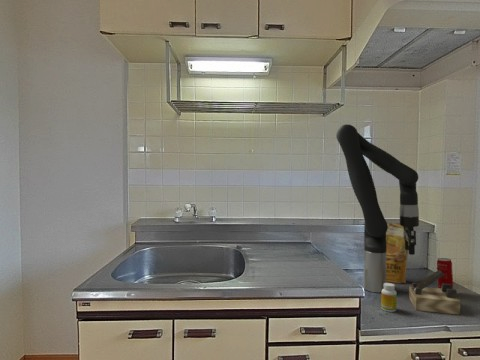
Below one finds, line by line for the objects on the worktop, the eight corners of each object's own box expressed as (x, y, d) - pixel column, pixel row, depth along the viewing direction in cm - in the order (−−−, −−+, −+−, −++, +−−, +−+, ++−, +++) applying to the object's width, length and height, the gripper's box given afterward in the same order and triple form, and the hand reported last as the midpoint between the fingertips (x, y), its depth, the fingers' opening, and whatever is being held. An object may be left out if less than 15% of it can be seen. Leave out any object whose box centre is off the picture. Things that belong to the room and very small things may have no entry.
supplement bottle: (394, 313, 136) (395, 287, 136) (379, 310, 139) (380, 285, 139) (397, 308, 141) (397, 283, 140) (382, 305, 143) (383, 281, 143)
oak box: (415, 310, 139) (416, 289, 139) (409, 297, 153) (409, 278, 152) (459, 314, 135) (460, 293, 135) (448, 301, 149) (449, 281, 148)
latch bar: (416, 293, 143) (414, 290, 144) (414, 289, 147) (412, 287, 147) (444, 274, 141) (442, 272, 141) (441, 272, 145) (439, 269, 145)
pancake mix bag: (366, 276, 182) (367, 220, 181) (408, 281, 175) (409, 223, 174) (365, 279, 176) (366, 222, 175) (408, 285, 169) (410, 225, 167)
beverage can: (455, 296, 155) (456, 261, 154) (438, 295, 156) (439, 260, 155) (450, 291, 160) (451, 257, 160) (434, 290, 162) (435, 256, 161)
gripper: (397, 212, 165) (397, 248, 165) (402, 217, 151) (403, 255, 152) (415, 212, 163) (415, 248, 164) (422, 217, 149) (423, 256, 150)
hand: (409, 252), depth 158 cm, fingers open, 8 cm apart
